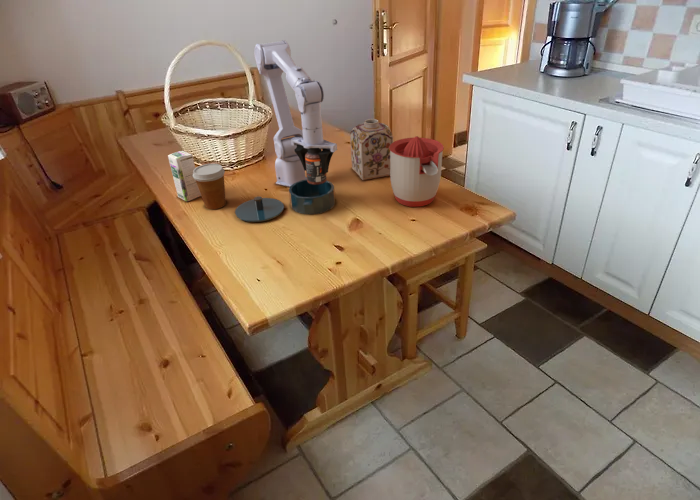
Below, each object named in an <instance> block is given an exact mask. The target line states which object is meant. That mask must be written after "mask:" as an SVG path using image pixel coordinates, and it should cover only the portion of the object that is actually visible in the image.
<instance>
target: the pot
mask: <svg viewBox="0 0 700 500" xmlns="http://www.w3.org/2000/svg"><path fill="white" fill-rule="evenodd" d="M335 193H336V192H335V185H334V183H333V182H332V181H329V180H328V179H326V182H325V183H323V184H320V185H313V184H310V183H308V181H307V179H306V180H301V181H298V182H296V183H294V184H293V185H291V186H290V187H289V188H288V197H289V205H290V208H291V210H293V211H294V212H295V213H298V214H302V215H318V214H323V213H325V212H328V211H330V210H332V209H333V208H334V207H335V205H336V194H335Z"/></svg>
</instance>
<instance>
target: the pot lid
mask: <svg viewBox="0 0 700 500" xmlns="http://www.w3.org/2000/svg"><path fill="white" fill-rule="evenodd" d="M284 210H285V204H284V203H283V202H282V201H281V200H279V199H277V198H273V197H272V198H271V197H262V196H258V195H257V196H254V197H253V199H249V200H247V201H244V202H242V203H240V204H239V205H238V206H237V207H236V208H235V209H234V214H235V217H236V218H238V219H239V220H240V221H243V222H249V223H259V222H260V223H261V222H267V221H270V220H273V219H275V218H277V217H278V216H280V215H281V214H282V213H283V212H284Z"/></svg>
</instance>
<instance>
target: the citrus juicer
mask: <svg viewBox="0 0 700 500" xmlns="http://www.w3.org/2000/svg"><path fill="white" fill-rule="evenodd" d="M389 149H390V175H389V176H390V186H391V190H392V193H393V196H394V198H395V200H396V202H398V204H401V205H403V206H405V207H409V208H413V207H423V206H424V207H425V206H427V205H430V204H431V203H432V202H433V201H434V200H435V198H436V196H437V193H438V190H439V187H440V183H441V177H442V166H443V165H442V164H443V152H444V151H443V150H444V149H445V147H444V145H443V143H442V142H440V141H438V140H436V139H432V138H429V137H427V138H426V137H420V136H418V135H417V136H416V135H415V136H413V137H405V138H400V139H397V140H395V141H393V143H392V144H391V145H390V147H389Z"/></svg>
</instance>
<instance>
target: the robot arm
mask: <svg viewBox="0 0 700 500" xmlns="http://www.w3.org/2000/svg"><path fill="white" fill-rule="evenodd" d="M253 52H254V53H253V54H254V60H255V64H256V68H257V70H258V73H259V75H261V76H263V77H264V78H265V82H266V84H267V89H268V92H269V96H270V99H271V103H272V107H273V110H274V114H275V118H276V121H277V126H278V131H276V133H275V134H274V135H273V140H272V141H273V144H274V145H273V146H274V151H275V154H276V155H275V156H276V159H275V161H274V170H275V176H276V182H275V185H279V186H284V187H289V188H290V186H291V185H293V184H294V183H296V182H298V181H301V180H306V179H307V175H306V163H305V154H306V153H307V152H308V150H307V149H309V148H319V149H321V150H322V151H321V152H319V153H318V155H319V157H320V160H321V165H322V173H323V174H326V175H327V173H329V168H330V163H331V160H332V157H333V155H334V153H336V151H338V143H335V142H331V141H329V140H326V139H324V132H323V131H324V130H323V120H322V106H321V105H322V104H321V103H323V102H324V99H325V93H324V88H323V86H322V84H321V82H320V81H319V80H315V79H312V78H311V77H310V76H309V74H308V73H307V72H306V70H305V69H304V68H303V67H302V66H300V65H296V63H295V61H294V60H293V59H292V57H291V56H292V51H291V47H290V44H289V43H288V41H286V39H282V40H279V41H270V42H265V43H264V42H263V43H256V44H255V46H254V50H253ZM283 73H285V81H286V82H287V83H288V85H289V86H290V87H291V88H290V89H292V90H293V92H294V96H295V100H296V103H297V106H298V107H297V108H298V112H300V120H301V128H299V127H297V126H295V123H294V119H293V115H292V111H291V109H290V105H289V100H288V97H287V93H286V89H285V86H284V85H285V84H284V82H283V78H282V76H283V75H282V74H283Z"/></svg>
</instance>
